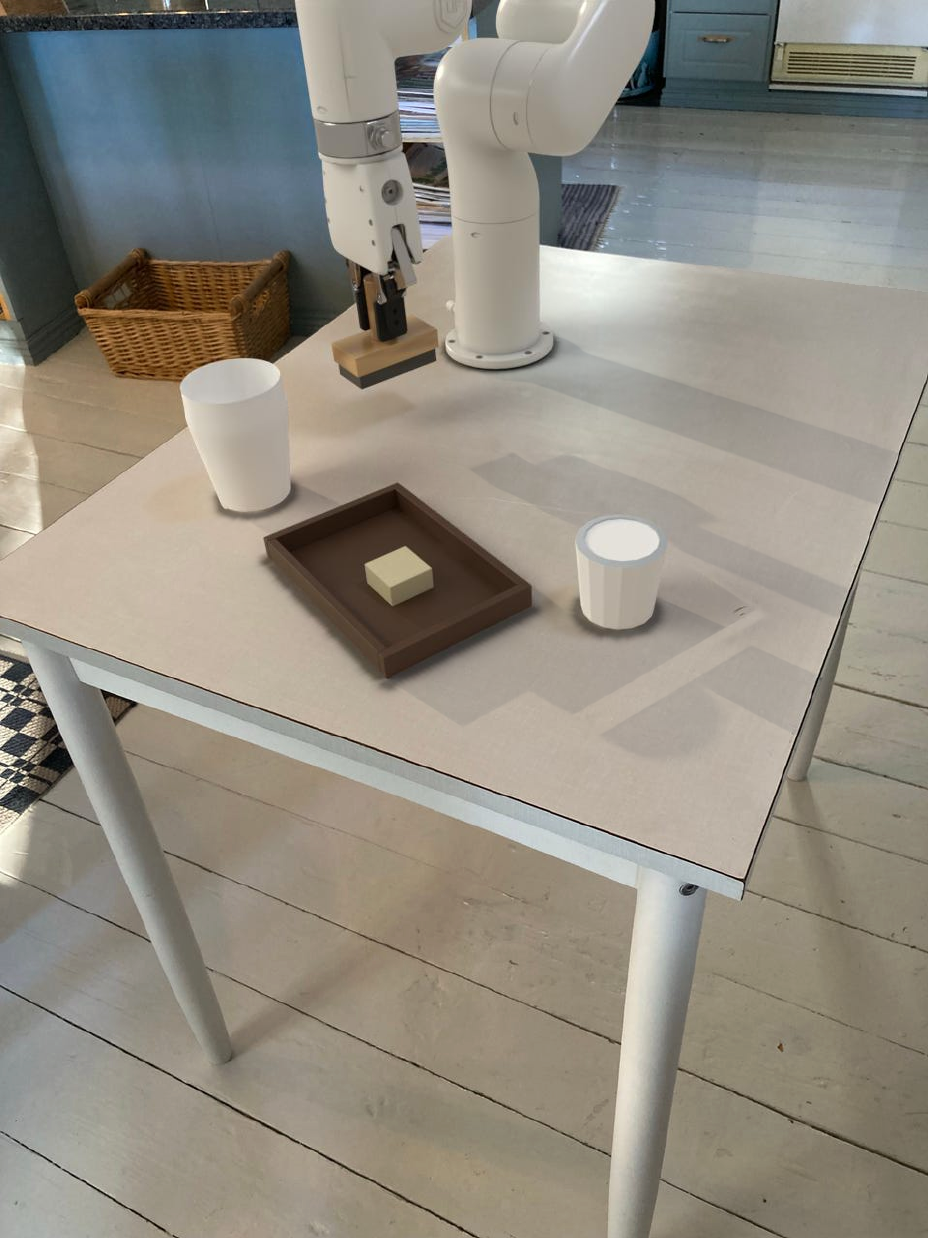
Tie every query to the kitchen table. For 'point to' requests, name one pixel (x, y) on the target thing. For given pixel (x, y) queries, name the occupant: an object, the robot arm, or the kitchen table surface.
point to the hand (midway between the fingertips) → (383, 329)
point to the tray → (385, 635)
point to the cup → (241, 430)
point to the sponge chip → (399, 575)
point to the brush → (384, 348)
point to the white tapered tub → (619, 569)
